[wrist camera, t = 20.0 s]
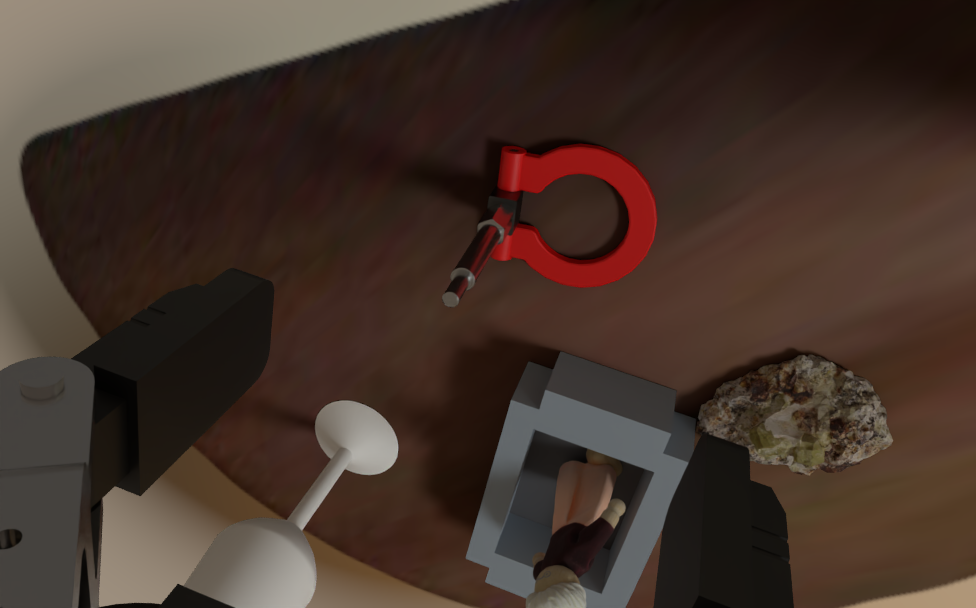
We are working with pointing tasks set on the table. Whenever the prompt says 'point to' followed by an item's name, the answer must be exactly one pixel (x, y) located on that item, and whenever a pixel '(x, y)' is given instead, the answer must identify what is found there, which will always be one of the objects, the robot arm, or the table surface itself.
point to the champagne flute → (293, 520)
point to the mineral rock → (799, 416)
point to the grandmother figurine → (576, 530)
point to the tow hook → (512, 239)
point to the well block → (566, 437)
